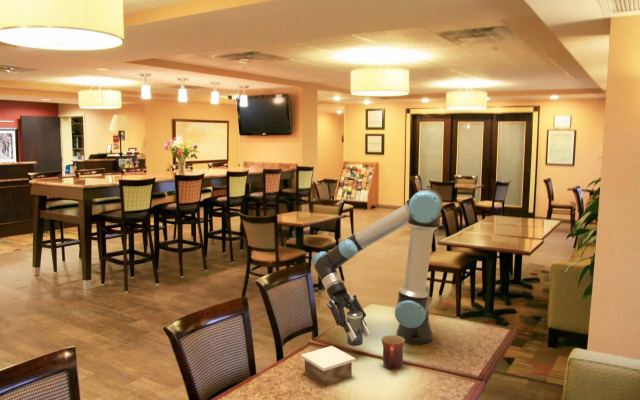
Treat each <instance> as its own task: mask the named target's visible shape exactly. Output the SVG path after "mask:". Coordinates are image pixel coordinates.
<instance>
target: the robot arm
mask: <svg viewBox="0 0 640 400" xmlns="http://www.w3.org/2000/svg"><path fill="white" fill-rule="evenodd" d="M442 198H443V197H442V196H441V194H440V193H439V192H438V191H437V190H436V189H433V188H429V187H428V188H423V189H420V190H419V191H418V192H415V193H414V194H413V195H412V197H411V198H409V199H408V200H406V201H405V203H404V205H402V206H400V207H399V208H397V209H395V210H394V211H392V212H390V213H388V214H387V215H385V216H383V217H382V218H380V219H377V220H376V221H374V222H373V223H371V224H369V225H368V226H366V227H364V228H363V229H360V230H359V231H358V232H356V233H355V234H353V235H351V236H348V237H346V238H345V239H344V240H342V241H341V242H339V244H337V245H336V246H335V247H333V248H332V249H331V250H330V251H328V252H327V251H319V252H318V253H316V254H314V255H313V256H312V258H311V263H312V265H313V267H314V270H315V272H316V273H317V275H318V277H319V278H320V280H321V282H322V285H323V287H324V289H325V290H326V293H327V295H328V297H329V299H330V300H329V301H328V303H327V304H326V306H327V308H328V309H329V310H330V313H331V315H332V316H333V319H334V322H335V324H336V325H337V326H340V327H341V328H343V330H344V331H345V333H346V334H347V333H348V335H349V336H350V338H351V340H352V341H354V340H355V339H356V335H355V333H354V331H353V330H352V328H351V326H350V324H349V322H348V323H347V316H346V312H345V309H344V308H346V309H347V310H348V311H361V312H362V314H363V318H362V320H363V336H364V337H365V338H366V337H368V336H369V335H370V334H371V333H370V331H369V329H368V327H367V326H368V325H367V323H366V321H365V318H366V317H367V314H366V312H365V311H364V309H363V307H362V305H361V304H360V302H359V300H358V299H357V295H356V294H353V295H350V294H349V293H348V291H347V288H346V286H345V284H344V282H343V280H342V278H341V276H340V275H339V272H338V271H337V270H338V268H340V267H341V266H343V265H344V264H346V263H347V262H349V260H351V259H353V258H354V257H355V256H356V255H357V254H358V253H359V252H361V251H363V250H364V249H366V248H368V247H369V246H372V245H373V244H375V243H377V242H379V241H380V240H382V239H384V238H385V237H387V236H390V235H392V233H395V232H396V231H398V230H400V229H401V228H403V227H405V226H408V225H409V226H410V236H409V241H408V250H407V251H408V252H407V256H406V257H407V259H406V265H405V273H404V281H403V285H402V286H401V287H400V288H399V290H398V296H397V302H396V303H397V304H396V305H395V308H394V316H395V319H396V321H397V322H398V327H397V328H398V329H396V336H400V337H403V338H404V339H405V343H406V344H411V345H425V344H428V343H431V342H432V341H433V337H434V336H433V335H434V334H433V331H432V327H431V323H430V321H429V320H430V294H431V291H430V287H428V285H427V279H428V273H429V272H428V271H429V267H430V260H431V252H432V245H433V237H434V231H435V230H436V229H438V228H439V224H440V216H441V210H442V208H443V199H442ZM405 343H404V344H405Z"/></svg>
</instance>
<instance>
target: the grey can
mask: <svg viewBox="0 0 640 400" xmlns="http://www.w3.org/2000/svg"><path fill="white" fill-rule="evenodd" d="M362 318H363V314H362V312H361V311H350V310H348V311H347V312H346V321H347V323H348V322H349V324H350V326H351V328H352V330H353V331H354V333H355V335H356V339H355V340H354V341H352V340H351V338H350V336H349V335H348V333H346V336H347V337H346V338H347V339H346V340H347V341H346V343H347V345H349V346H351V347H358V346H362V345H363V343H364V341H363V340H364V338H363V336H364V334H363V320H362Z"/></svg>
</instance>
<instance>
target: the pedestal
mask: <svg viewBox="0 0 640 400" xmlns="http://www.w3.org/2000/svg"><path fill="white" fill-rule="evenodd" d="M300 358H301V359H303V360H304V374H305V376H308V377H310V378H311V379H313V380H314V381H315V382H318V384H320V385H322V386H323V385H324V386H323V387H327V386H329V385H332V384H335V383H338V382H341V381H344V380H347V379H349V378H352V377H353V376H352V375H353V374H352V370H353V369H352V368H353V367H352V366H353V365H352V364H353V363H354V362H356V360H357V359H356V357H354V356H353V355H350V354H349V353H346V352H345V351H343V350H340V349H339V348H337V347H335V346H333V345H330V346H327V347H323V348H319V349H315V350H313V351H309V352H306V353H303V354H300Z"/></svg>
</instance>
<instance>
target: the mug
mask: <svg viewBox="0 0 640 400" xmlns="http://www.w3.org/2000/svg"><path fill="white" fill-rule="evenodd" d="M380 341H381V344H382V363H383V367H385V368H386V369H388V370H389V369H390V370H398V369H400V368H402V367H403V362H404V350H403V349H404V346H405V345H404V344H405V339H404V338H403V337H400V336H397V334H395V335H394V334H390V335H389V334H388V335H384V336H382V337H381V339H380Z"/></svg>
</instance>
